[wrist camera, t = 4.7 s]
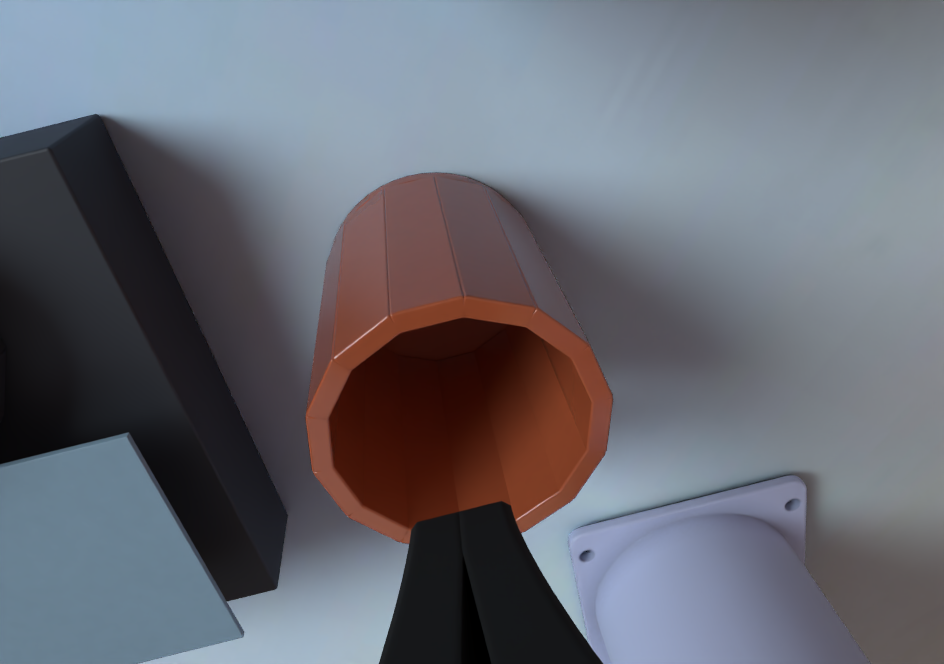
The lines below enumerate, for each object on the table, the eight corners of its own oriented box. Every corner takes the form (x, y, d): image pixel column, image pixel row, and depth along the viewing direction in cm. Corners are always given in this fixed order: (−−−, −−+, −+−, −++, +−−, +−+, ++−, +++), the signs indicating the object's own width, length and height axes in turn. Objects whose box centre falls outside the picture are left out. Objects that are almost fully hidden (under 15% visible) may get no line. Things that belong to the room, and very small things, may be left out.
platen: (244, 631, 18) (243, 637, 18) (-85, 713, 18) (-88, 719, 18) (128, 431, 15) (127, 436, 15) (-272, 531, 15) (-278, 537, 15)
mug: (297, 202, 18) (258, 347, 11) (518, 147, 18) (594, 263, 11) (380, 436, 21) (383, 640, 15) (562, 391, 21) (638, 576, 15)
